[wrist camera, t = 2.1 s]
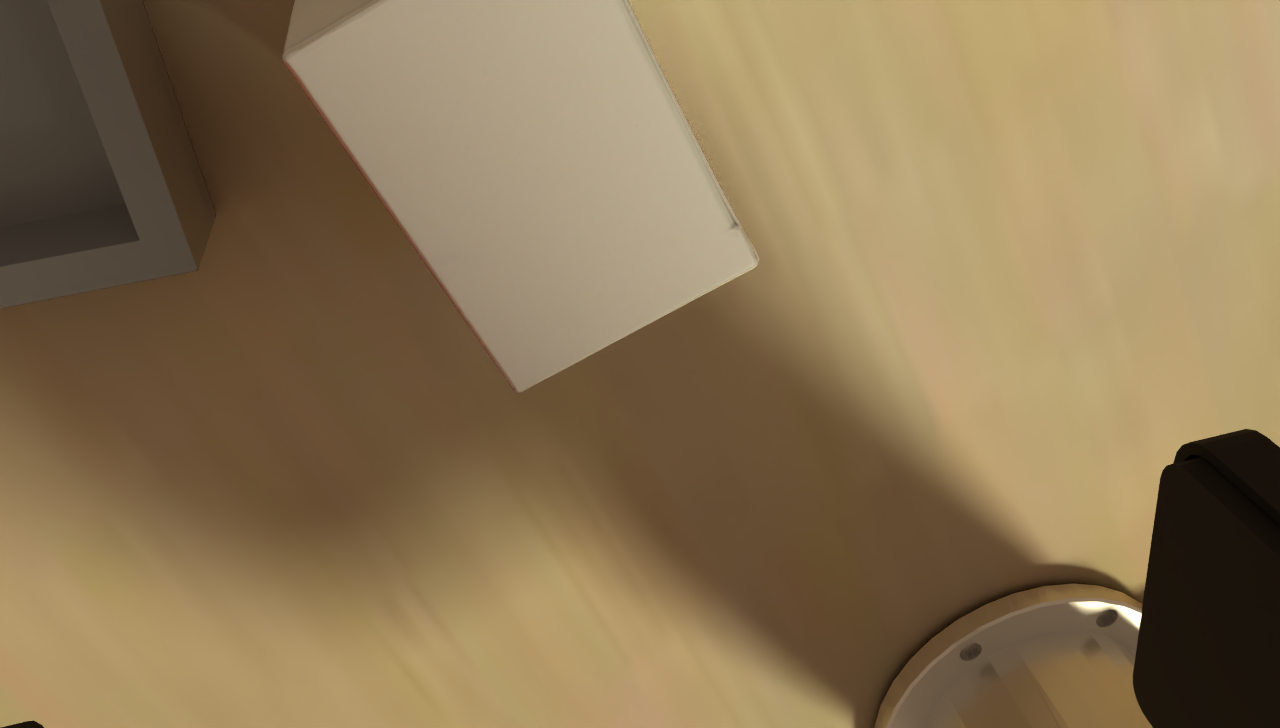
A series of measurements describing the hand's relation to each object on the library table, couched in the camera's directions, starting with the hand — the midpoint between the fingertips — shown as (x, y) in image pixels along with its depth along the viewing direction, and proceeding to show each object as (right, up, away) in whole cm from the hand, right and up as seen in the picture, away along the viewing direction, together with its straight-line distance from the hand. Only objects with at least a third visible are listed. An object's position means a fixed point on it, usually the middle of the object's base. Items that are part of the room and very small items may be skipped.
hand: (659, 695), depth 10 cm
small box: (-4, +11, +19) cm, 23 cm away
